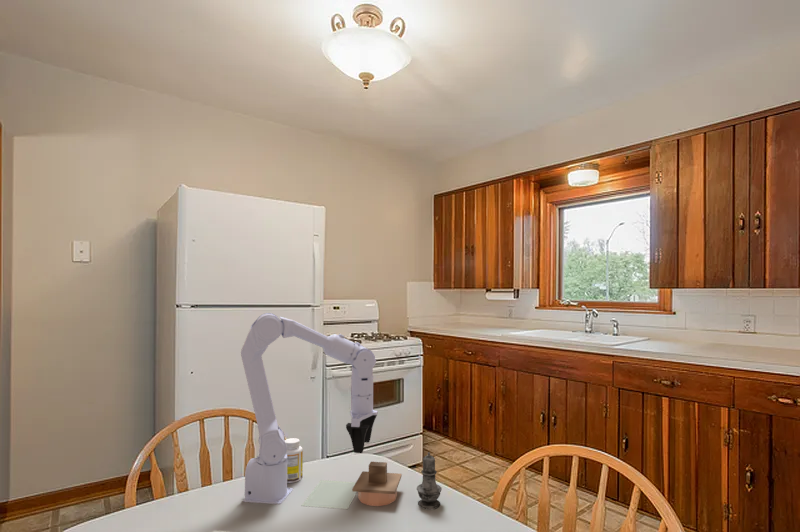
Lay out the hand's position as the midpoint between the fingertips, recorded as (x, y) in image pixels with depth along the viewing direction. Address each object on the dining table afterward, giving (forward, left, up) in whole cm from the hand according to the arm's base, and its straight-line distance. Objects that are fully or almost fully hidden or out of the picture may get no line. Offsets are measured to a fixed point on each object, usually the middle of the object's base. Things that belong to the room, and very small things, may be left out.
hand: (362, 447), depth 117 cm
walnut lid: (+6, -7, -6) cm, 11 cm away
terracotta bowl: (+6, -7, -9) cm, 13 cm away
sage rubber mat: (-5, -7, -9) cm, 13 cm away
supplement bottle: (-19, 0, -10) cm, 21 cm away
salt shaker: (+18, -8, -10) cm, 22 cm away
